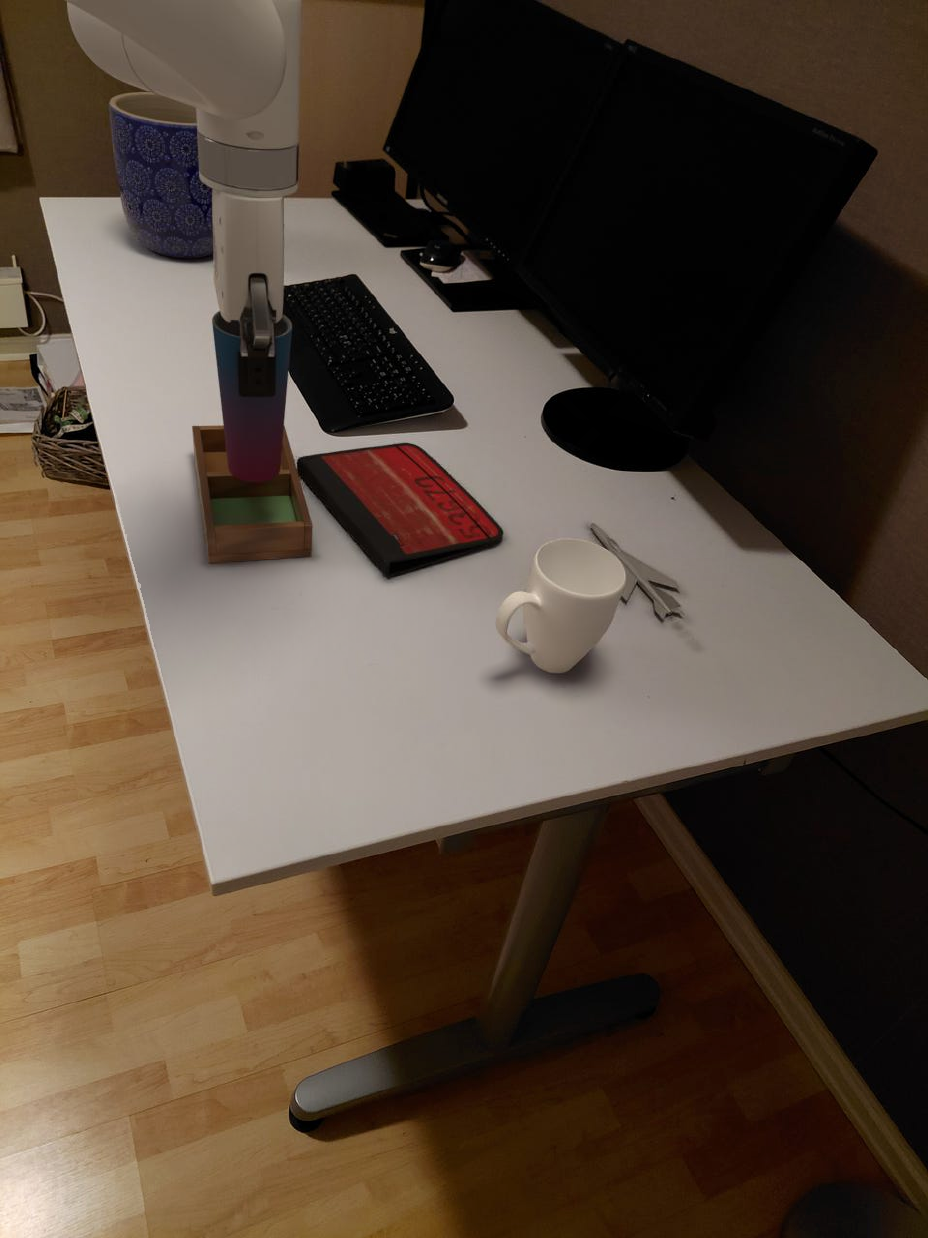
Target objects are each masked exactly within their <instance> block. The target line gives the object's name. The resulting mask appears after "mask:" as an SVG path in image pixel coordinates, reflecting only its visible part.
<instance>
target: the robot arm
mask: <svg viewBox="0 0 928 1238" xmlns="http://www.w3.org/2000/svg"><path fill="white" fill-rule="evenodd" d="M64 1H65V2H66V9H67V17H68V21H69V25H70V28H71V31H72V33H73V36H74V38H75V40H76V42H77V44H78V45H79V46H80V48H81V49H82V51H83V52H84V53H85V55H86V56H87V57H88V58H89V59H90V60H91V62H92V63H94V65H96V66H97V67H98V68H99V69H100V70H102V71H104V72H105V73H106V74H108V75H109V76H110V77H112V78H114V79H116V80H118V81H120V82H122V83H124V84H127V85H129V86H132V87H136V88H138V89H140V90H143V91H145V92H151V93H154V94H157V95H159V96H164V97H167V98H170V99H173V100H176V101H178V102H181V103H184V104H187V105H190V106H192V107H195V108H196V114H197V140H198V159H199V177H200V180H201V181H202V182H203V183H204V184H206V185H207V186H209V187H211V188H213V191H212V219H213V253H214V254H213V284H214V290H215V294H216V299H217V305H218V308H219V311H220V312H221V316H222V317H223V319H224V320H226V321H227V322H231V320H238V322H239V335H240V351H237V370H238V392H239V395H240V396H242V397H273V396H274V395H275V394H276V353H275V351H274V329H273V321H274V323H277V322H278V321H279V320H280V319H281V318H282V314H283V311H284V310H283V309H284V290H285V289H284V288H285V287H284V286H285V197H287V196H291V195H292V194H295V193H297V191H298V189H299V164H300V163H299V159H300V157H299V156H300V104H301V103H300V102H301V100H300V99H301V61H302V60H301V57H302V55H301V53H302V0H64ZM244 310H251V313H252V317H244ZM246 325H252V333H249V335H248V337H247V327H246Z"/></svg>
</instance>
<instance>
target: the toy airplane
mask: <svg viewBox="0 0 928 1238" xmlns="http://www.w3.org/2000/svg"><path fill="white" fill-rule="evenodd" d="M590 527H591V529H592V530H593V533H594V534H595V535H596V537H597V538H598V539H599V540H600V542H601V543H602V545H604V547H606V550H608V551H609V552H611V553H612V554H613V555H614V556H616V557H617V559H618V560H619V561H620V562H621V564H622V565H623V567H624V570H625V573H626V582H625V586H624V590H623V593H622V595H621V598H623V599H624V600H625V601H626V602H628V600H629V598H630V596H631V594H632V592H633V591H634V589H635V586H636V584H638V586H640V588H641V589H642V590H643V591H644V593H645V594H647V596H648V597H649V598H650V599H651V600H652V601H653V606H654V611H655V612H656V614H657V615H658V616H659V617H660V618H661V619H662V620H663V621H664V620H665V617H666V615H672V613H676V614H680V615H683V616H685V613H684V612H683V611H682V610H681V609H680V608H682V605H681V604H680V602H678V601H677V599H675V597H674V596H672V595H671V594H669V593H667V592H666V591H664V590H662V589H661V588H659V587H657V586H656V585H654V584H652V583H651V582H653V583H657V584H660V585H664V586H667V587H671V588H674V589H678V590H682V589H681V587H680V586H679V584H678V583H677V581H676V580H674V579H673V578H671V577H669V576H668V575H666V574H664V573H663V572H661V571H659V570H657V569H656V568H654V567H652V566H651V565H648V564H647V563H645V562H644V561H642V560H640V559H638V558H636V557H635V556H633V555H631V554H630V553H628V552H627V551H624V550H623V549H621V546H620V545H619V544H618V543H617V542H616V541H615V540H614V539H612V538H611V537H610V536H609V535H608V534H607V532H605V531H604V530H603V529H602V528H601V527H600V526H598V525H597V524H596V523H594V522H591V524H590ZM679 623H681V621H680V620H678V621H677V623H676V624H677V625H679ZM688 631H689V630H686V631H684V633H685V634H686V633H688ZM692 640H695V638H693V639H692ZM698 645H699V643H698V644H697V646H698Z"/></svg>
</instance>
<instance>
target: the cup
mask: <svg viewBox="0 0 928 1238" xmlns="http://www.w3.org/2000/svg"><path fill="white" fill-rule="evenodd" d="M244 317H252V313H251V310H244ZM211 323H212V324H211V325H212V333H213V343H214V351H215V352H214V353H215V361H216V370H217V378H218V380H217V381H218V387H219V396H220V406H221V407H220V408H221V415H222V424H223V425H224V434H225V443H226V452H227V461H228V469H229V471H230V473H231V474H232V475H233V476H235V477H236V478H238V479H241V480H244V481H249V482H263V481H268V480H270V479H273V478H274V477H276V476H277V475H278V474H279V472H280V466H281V454H282V442H283V430H284V426H285V419H286V404H287V394H288V393H287V392H288V383H289V368H290V359H291V357H290V356H291V345H292V335H293V323H292V321H291V320H290V318H288V316H286V315H285V314H284V313H282V318H281V319H280V320H279V321H278V322H277V323H274V321H273V329H274V351H275V353H276V394H275V395H274V396H273V397H242V396H240V395H239V392H238V370H237V351H240V335H239V322H238V320H231V322H227V321H226V320H224V319H223V317H222V316H221V312H220V310H218V311H217V312H215V313H214V315H213V316H212V318H211ZM246 327H247V337H248V335H249V333H252V325H246Z"/></svg>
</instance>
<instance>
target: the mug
mask: <svg viewBox="0 0 928 1238" xmlns="http://www.w3.org/2000/svg"><path fill="white" fill-rule="evenodd" d="M625 582H626V573H625V570H624V567H623V565H622V564H621V562H620V561H619V560H618V559H617V557H616V556H614V555H613V554H612V553H611V552H609V550H608V549H607V548H605V547H603V546H601V545H600V544H597V543H595V542H591V541H588V540H585V539H580V538H579V539H578V538H571V537H570V538H568V537H567V538H558V539H557V538H556V539H554V540H550V541H548V542H546V543H544V544H543V545H541V546H540V547H539V548H538V550H537V551H536V552H535V555H534V557H533V560H532V563H531V567H530V571H529V575H528V578H527V582H526V586H525V591H520V590H517V591H515V592H512V593H510V594H509V595H508V596H506V598H505V599H504V600H503V602H502V603H501V604H500V606H499V608H498V610H497V613H496V617H495V627H496V631H497V633H498V634H499V636H500V637H501V638H502V639H503V641H505V642H506V643H507V644H508V645H510V646H511V647H513V648H515V649H517V650H519V651H521V652H523V653H524V654H529V655H530V658H531V661H532V663H534V665H535V666H536V667H537V668H539V669H540V670H542V671H545V672H546V673H550V674H563V673H567V672H568V671H570V670H572V669H573V667H574V666H576V665H577V664H578V663H579V662H580V661H581V660H582V659H583V658H584V657H585V656H586V655H587V654H589V652H590V651H591V650H592V649H593V648H594V647H595V646H596V645H597V644H598V643H599V642H600V640H601V639H603V637H604V636H605V634H606V633H607V631H608V630H609V627H610V626H611V625H612V622H613V620H614V617H615V614H616V611H617V609H618V606H619V603H620V601H621V598H622V596H621V595H622V593H623V590H624V586H625ZM521 607H522V616H523V625H524V629H525V635H526V641H527V642H526V641H525V642H522V641H519V640H517V639H516V638H513V636H510V635H509V634H508V627H509V623H510V620H511V618H512V616H513V615H514V613H515V612H516V611H517V610H518V609H519V608H521Z"/></svg>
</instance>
